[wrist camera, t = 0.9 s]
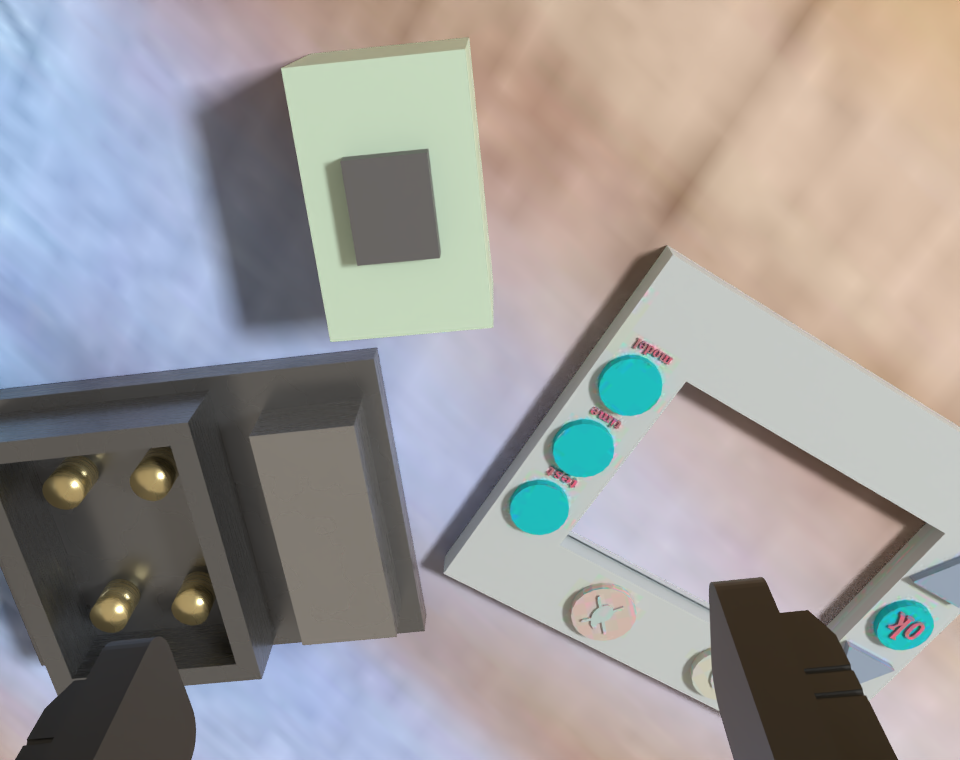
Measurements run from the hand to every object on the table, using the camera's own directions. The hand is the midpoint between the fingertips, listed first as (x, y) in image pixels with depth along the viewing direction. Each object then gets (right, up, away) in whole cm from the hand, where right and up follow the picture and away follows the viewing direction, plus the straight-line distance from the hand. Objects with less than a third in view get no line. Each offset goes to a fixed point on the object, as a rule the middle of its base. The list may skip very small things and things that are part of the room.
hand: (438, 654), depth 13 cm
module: (-2, +11, +17) cm, 20 cm away
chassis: (-10, -1, +22) cm, 24 cm away
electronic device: (+11, -1, +23) cm, 25 cm away
